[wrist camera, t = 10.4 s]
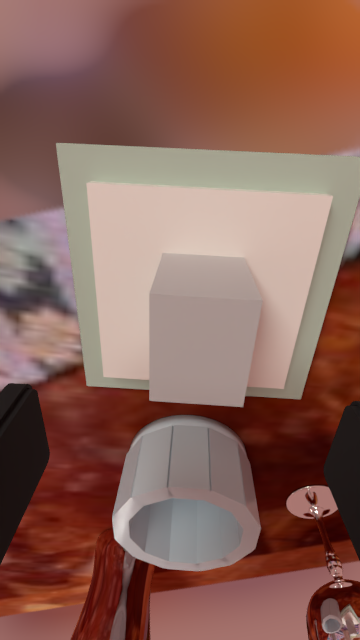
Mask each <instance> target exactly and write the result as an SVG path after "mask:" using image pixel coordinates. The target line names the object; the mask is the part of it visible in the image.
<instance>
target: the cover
mask: <svg viewBox="0 0 360 640" xmlns="http://www.w3.org/2000/svg"><path fill="white" fill-rule="evenodd" d="M86 185H87V196H88V208H89V219H90V230H91V242H92V253H93V264H94V275H95V287H96V298H97V309H98V321H99V332H100V343H101V354H102V366H103V377H110V378H125V379H140V380H149V401H160V402H175V403H190V404H205V405H220V406H234V407H243V404H244V399H245V394H246V388H247V387H262V388H277V389H284V385H285V381H286V378H287V374H288V370H289V366H290V362H291V358H292V354H293V350H294V347H295V343H296V339H297V335H298V331H299V327H300V323H301V319H302V315H303V312H304V308H305V304H306V300H307V296H308V292H309V288H310V284H311V281H312V277H313V273H314V269H315V265H316V261H317V257H318V253H319V250H320V246H321V242H322V238H323V234H324V230H325V226H326V222H327V218H328V215H329V211H330V207H331V203H332V199H333V196H332V195H329V194H321V193H302V192H283V191H264V190H245V189H227V188H208V187H189V186H170V185H151V184H133V183H114V182H95V181H91V182H88V183H86Z"/></svg>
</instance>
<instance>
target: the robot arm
mask: <svg viewBox="0 0 360 640" xmlns="http://www.w3.org/2000/svg"><path fill="white" fill-rule="evenodd" d="M49 453H50V452H49V446H48V442H47V437H46V432H45V427H44V422H43V417H42V413H41V408H40V403H39V398H38V393H37V391H36V390H34V389H32V387H31V386H30V385H29V384H13V383H10V384H8V385H7V386H6V387H5V388H4V389H3V390H2V392H1V393H0V564H1V562H2V560H3V558H4V556H5V553H6V551H7V549H8V547H9V545H10V543H11V541H12V538H13V536H14V534H15V532H16V530H17V528H18V526H19V523H20V521H21V519H22V517H23V515H24V513H25V511H26V508H27V506H28V504H29V502H30V500H31V498H32V496H33V493H34V491H35V489H36V487H37V485H38V483H39V481H40V478H41V476H42V474H43V472H44V470H45V468H46V466H47V463H48V460H49ZM324 476H325V479H326V482H327V484H328V486H329V489H330V491H331V493H332V496H333V498H334V501H335V503H336V505H337V508H338V510H339V512H340V515H341V517H342V520H343V522H344V524H345V527H346V529H347V531H348V534H349V536H350V539H351V541H352V543H353V546H354V548H355V551H356V553H357V555H358V558H359V560H360V401H353V402H352V403H351V405H350V406H346V407H345V409H344V412H343V415H342V418H341V420H340V423H339V426H338V429H337V431H336V434H335V437H334V440H333V442H332V445H331V448H330V451H329V453H328V456H327V459H326V462H325V464H324Z"/></svg>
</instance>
